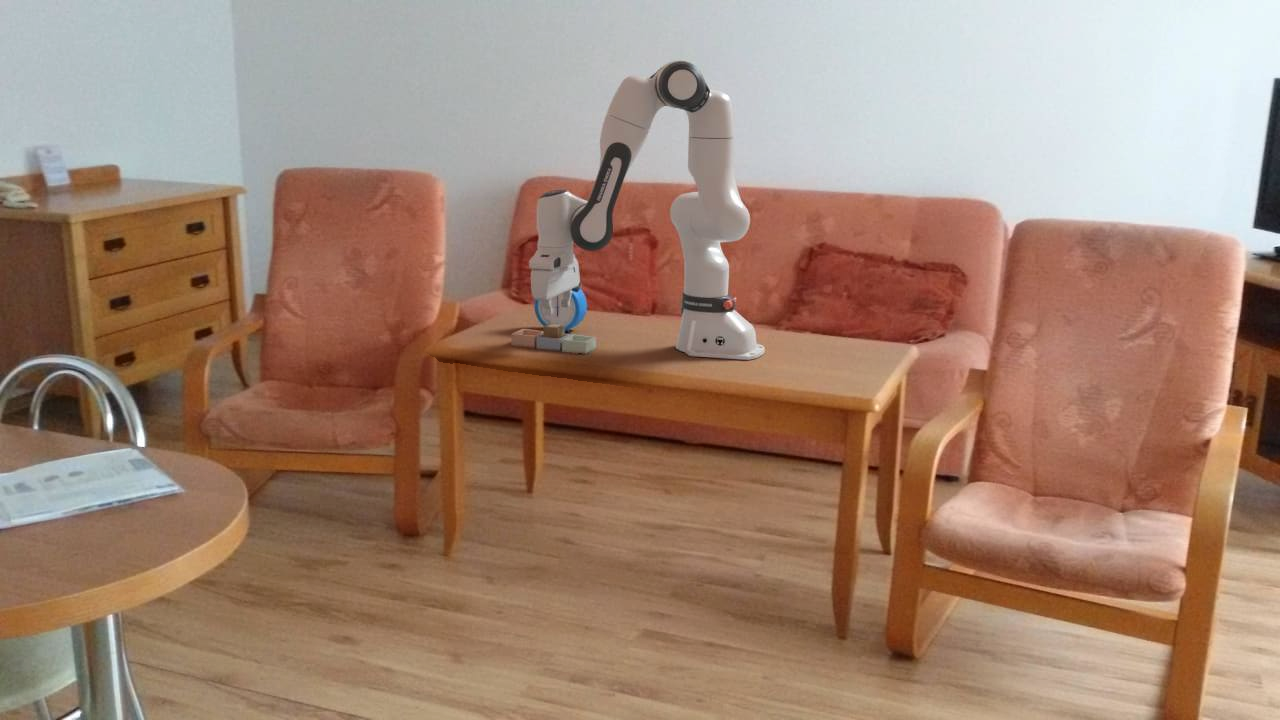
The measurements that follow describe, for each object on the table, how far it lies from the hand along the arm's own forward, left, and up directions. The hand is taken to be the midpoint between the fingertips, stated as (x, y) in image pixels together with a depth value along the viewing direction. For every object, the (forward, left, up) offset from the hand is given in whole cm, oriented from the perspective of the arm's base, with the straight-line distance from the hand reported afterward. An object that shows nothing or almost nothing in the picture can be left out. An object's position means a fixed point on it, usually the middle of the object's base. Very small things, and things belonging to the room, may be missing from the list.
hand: (557, 311), depth 282 cm
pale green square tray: (-6, +1, -9) cm, 11 cm away
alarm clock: (+7, -17, -9) cm, 21 cm away
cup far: (+8, +1, -9) cm, 12 cm away
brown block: (+1, +1, -9) cm, 9 cm away
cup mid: (+1, +1, -9) cm, 9 cm away
